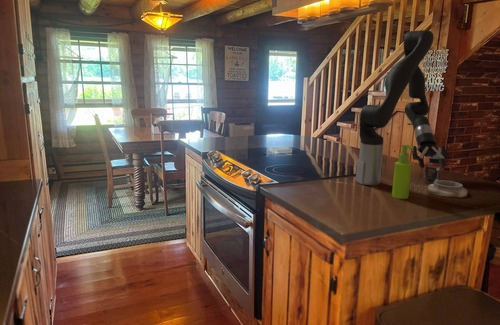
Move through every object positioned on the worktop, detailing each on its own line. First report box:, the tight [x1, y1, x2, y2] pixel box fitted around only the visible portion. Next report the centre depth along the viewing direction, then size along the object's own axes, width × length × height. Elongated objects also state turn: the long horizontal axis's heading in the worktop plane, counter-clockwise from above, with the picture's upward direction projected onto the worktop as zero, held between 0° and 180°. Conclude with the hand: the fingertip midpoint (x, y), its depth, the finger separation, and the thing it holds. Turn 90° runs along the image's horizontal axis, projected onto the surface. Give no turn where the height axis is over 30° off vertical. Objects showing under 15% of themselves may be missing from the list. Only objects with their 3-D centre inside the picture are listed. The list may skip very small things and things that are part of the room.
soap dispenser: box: [391, 144, 414, 200], centre depth 138 cm, size 6×7×20 cm
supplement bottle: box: [423, 156, 442, 185], centre depth 159 cm, size 6×6×11 cm
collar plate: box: [427, 179, 469, 198], centre depth 147 cm, size 14×14×4 cm
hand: (433, 167), depth 159 cm, fingers open, 8 cm apart
